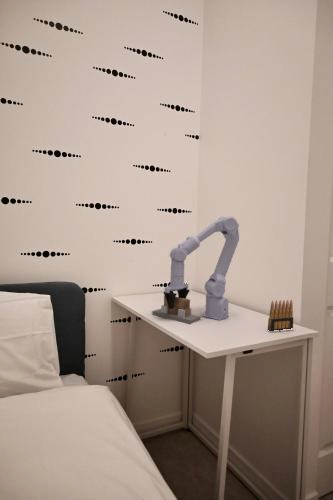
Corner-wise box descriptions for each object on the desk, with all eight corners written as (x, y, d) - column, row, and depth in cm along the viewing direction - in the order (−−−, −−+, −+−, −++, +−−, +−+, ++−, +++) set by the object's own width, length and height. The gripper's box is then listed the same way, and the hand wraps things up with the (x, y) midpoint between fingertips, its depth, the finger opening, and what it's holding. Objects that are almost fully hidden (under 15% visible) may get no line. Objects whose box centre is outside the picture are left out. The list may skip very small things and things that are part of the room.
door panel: (189, 315, 133) (190, 299, 133) (185, 317, 131) (185, 300, 130) (167, 310, 141) (167, 295, 140) (162, 312, 138) (163, 296, 138)
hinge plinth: (200, 319, 133) (201, 309, 133) (189, 324, 127) (190, 313, 127) (163, 311, 146) (163, 301, 145) (152, 314, 139) (152, 304, 139)
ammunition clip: (289, 328, 125) (291, 298, 124) (293, 330, 123) (294, 300, 123) (267, 331, 122) (268, 300, 121) (270, 332, 120) (272, 301, 119)
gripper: (179, 273, 143) (178, 302, 144) (159, 276, 132) (158, 308, 133) (192, 274, 139) (191, 305, 140) (172, 278, 127) (171, 311, 128)
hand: (176, 307), depth 136 cm, fingers open, 7 cm apart
